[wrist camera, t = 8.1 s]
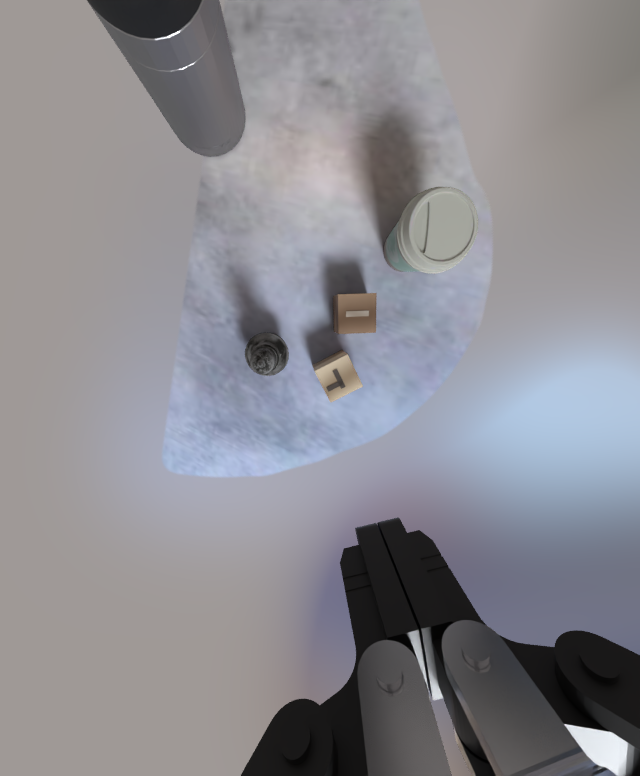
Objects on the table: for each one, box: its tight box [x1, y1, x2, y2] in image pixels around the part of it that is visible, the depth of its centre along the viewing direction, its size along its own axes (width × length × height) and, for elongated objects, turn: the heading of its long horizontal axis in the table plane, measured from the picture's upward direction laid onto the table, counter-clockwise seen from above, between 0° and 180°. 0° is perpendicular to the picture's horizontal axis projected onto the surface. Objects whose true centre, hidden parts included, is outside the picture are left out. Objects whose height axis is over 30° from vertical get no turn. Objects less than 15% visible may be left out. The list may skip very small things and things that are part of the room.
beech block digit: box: [313, 350, 363, 402], centre depth 44 cm, size 5×5×5 cm
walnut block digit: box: [333, 293, 376, 334], centre depth 42 cm, size 5×5×5 cm
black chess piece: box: [245, 333, 289, 376], centre depth 39 cm, size 6×6×12 cm
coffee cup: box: [384, 187, 478, 274], centre depth 37 cm, size 8×8×12 cm
